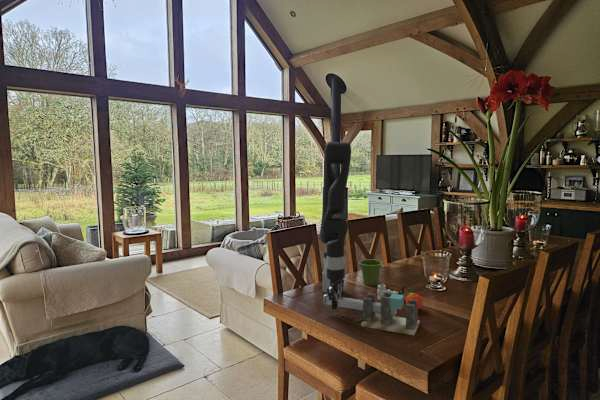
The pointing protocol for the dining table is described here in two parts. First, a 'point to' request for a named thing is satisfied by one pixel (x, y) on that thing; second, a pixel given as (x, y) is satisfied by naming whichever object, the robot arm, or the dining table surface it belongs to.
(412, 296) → the clementine
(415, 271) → the dining table surface
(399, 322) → the frame
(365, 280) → the plant pot
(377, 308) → the shaft
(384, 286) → the valve
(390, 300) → the spacer
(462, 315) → the dining table surface
